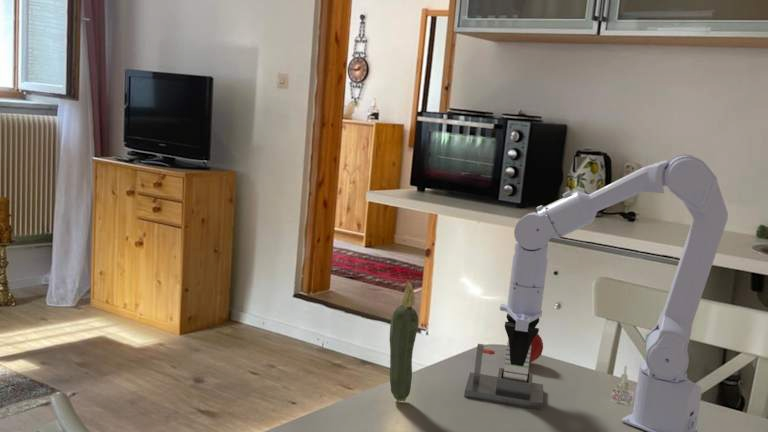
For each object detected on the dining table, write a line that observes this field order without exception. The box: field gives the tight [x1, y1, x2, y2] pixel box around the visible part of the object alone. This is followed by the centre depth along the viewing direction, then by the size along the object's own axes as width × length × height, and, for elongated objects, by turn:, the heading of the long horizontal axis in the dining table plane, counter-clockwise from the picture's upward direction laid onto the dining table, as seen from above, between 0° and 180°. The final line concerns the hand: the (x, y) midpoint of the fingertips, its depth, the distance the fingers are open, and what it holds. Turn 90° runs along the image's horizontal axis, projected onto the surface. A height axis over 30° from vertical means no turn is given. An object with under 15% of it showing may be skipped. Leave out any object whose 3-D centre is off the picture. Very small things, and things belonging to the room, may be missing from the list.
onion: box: [529, 333, 544, 364], centre depth 144 cm, size 6×6×8 cm
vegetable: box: [389, 280, 419, 403], centre depth 118 cm, size 4×4×20 cm
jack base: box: [463, 343, 544, 411], centre depth 127 cm, size 13×9×8 cm
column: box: [503, 339, 531, 382], centre depth 127 cm, size 4×4×6 cm
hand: (517, 360), depth 127 cm, fingers closed on column, 4 cm apart
